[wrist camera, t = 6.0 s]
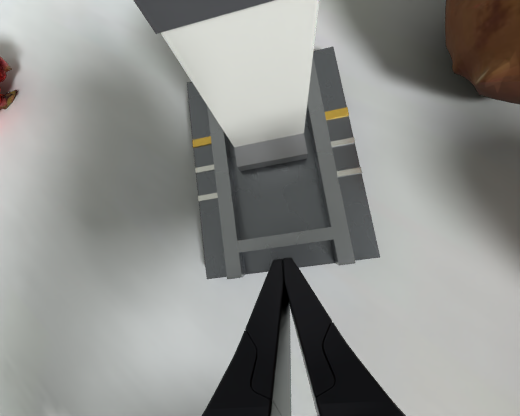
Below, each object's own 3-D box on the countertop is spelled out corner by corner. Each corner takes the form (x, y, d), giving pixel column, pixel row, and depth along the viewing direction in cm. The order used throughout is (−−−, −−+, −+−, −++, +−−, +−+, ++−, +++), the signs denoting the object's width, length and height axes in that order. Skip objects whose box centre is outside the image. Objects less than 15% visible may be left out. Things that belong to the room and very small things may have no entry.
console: (373, 255, 15) (388, 259, 13) (212, 276, 17) (200, 282, 14) (330, 59, 18) (336, 32, 15) (193, 92, 19) (179, 72, 17)
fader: (307, 158, 16) (349, -42, 4) (238, 171, 16) (120, 26, 5) (294, 84, 17) (299, -238, 5) (229, 99, 17) (111, -159, 6)
